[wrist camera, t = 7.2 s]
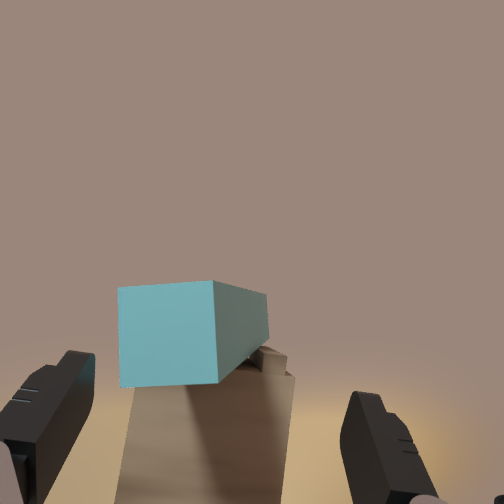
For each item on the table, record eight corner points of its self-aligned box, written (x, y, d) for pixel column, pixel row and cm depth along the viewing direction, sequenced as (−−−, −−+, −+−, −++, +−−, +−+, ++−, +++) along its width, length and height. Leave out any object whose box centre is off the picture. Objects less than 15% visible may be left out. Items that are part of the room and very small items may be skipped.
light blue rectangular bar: (218, 383, 15) (212, 280, 15) (120, 387, 15) (117, 287, 15) (269, 338, 34) (266, 294, 35) (226, 340, 35) (223, 297, 35)
